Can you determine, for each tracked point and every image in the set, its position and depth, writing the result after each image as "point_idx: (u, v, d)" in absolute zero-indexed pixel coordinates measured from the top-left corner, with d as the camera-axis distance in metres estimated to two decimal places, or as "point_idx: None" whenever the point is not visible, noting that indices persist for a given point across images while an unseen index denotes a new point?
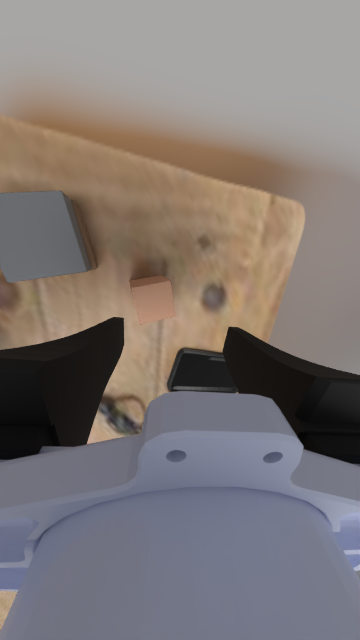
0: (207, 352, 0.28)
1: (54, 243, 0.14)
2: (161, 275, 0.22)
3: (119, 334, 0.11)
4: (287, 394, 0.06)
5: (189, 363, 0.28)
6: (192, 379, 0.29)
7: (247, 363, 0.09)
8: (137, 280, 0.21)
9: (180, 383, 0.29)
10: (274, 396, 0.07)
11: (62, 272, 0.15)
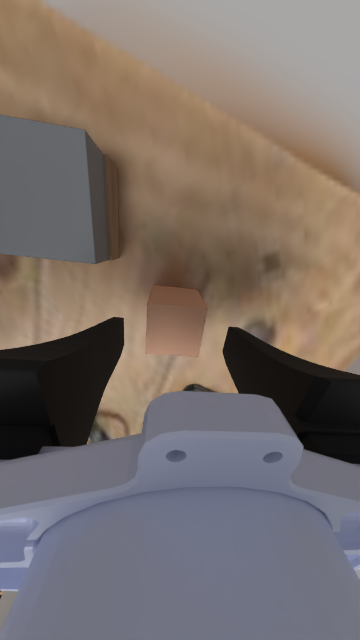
0: None
1: (58, 212, 0.09)
2: (197, 290, 0.16)
3: (119, 334, 0.11)
4: (287, 394, 0.06)
5: None
6: None
7: (247, 363, 0.09)
8: (163, 288, 0.15)
9: None
10: (274, 396, 0.07)
11: (61, 256, 0.10)
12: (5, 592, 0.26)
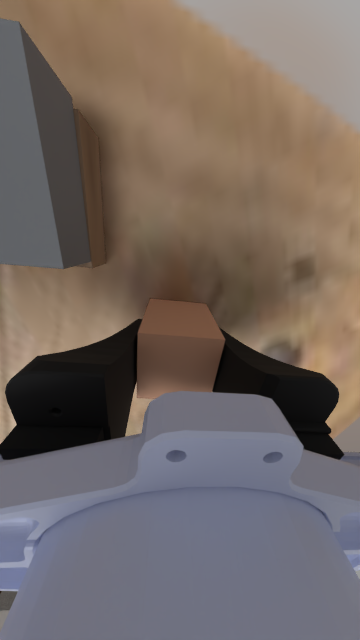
0: None
1: None
2: (206, 306, 0.12)
3: None
4: (246, 392, 0.06)
5: None
6: None
7: None
8: (162, 304, 0.11)
9: None
10: None
11: (10, 258, 0.07)
12: None
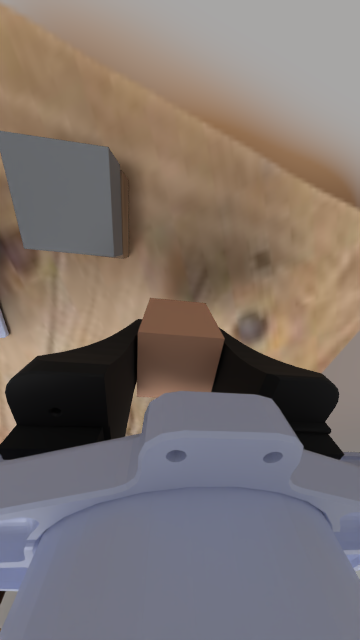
0: None
1: (84, 214, 0.11)
2: (206, 306, 0.12)
3: None
4: (246, 392, 0.06)
5: None
6: None
7: (219, 361, 0.09)
8: (162, 304, 0.11)
9: None
10: None
11: (86, 251, 0.12)
12: None
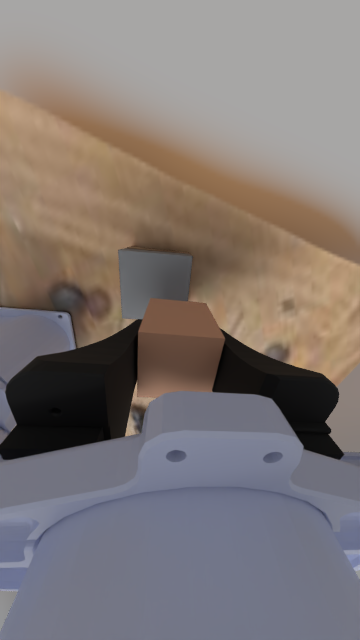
0: None
1: (169, 296, 0.16)
2: (206, 305, 0.12)
3: None
4: (246, 392, 0.06)
5: None
6: None
7: (219, 361, 0.09)
8: (162, 304, 0.11)
9: None
10: None
11: None
12: None
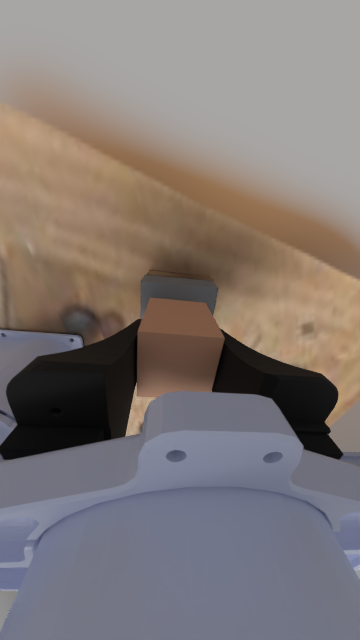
0: None
1: None
2: (206, 305, 0.12)
3: None
4: (245, 392, 0.06)
5: None
6: None
7: None
8: (162, 303, 0.11)
9: None
10: None
11: None
12: None
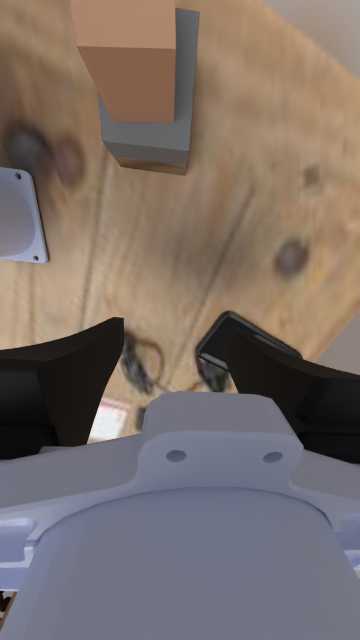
0: (255, 327, 0.23)
1: None
2: None
3: (119, 334, 0.11)
4: (287, 394, 0.06)
5: None
6: None
7: (247, 363, 0.09)
8: None
9: (211, 352, 0.25)
10: (274, 396, 0.07)
11: (162, 143, 0.12)
12: None
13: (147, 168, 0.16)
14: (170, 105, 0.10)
